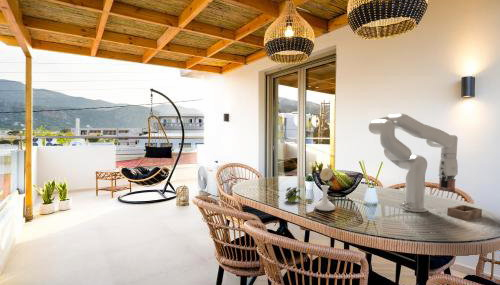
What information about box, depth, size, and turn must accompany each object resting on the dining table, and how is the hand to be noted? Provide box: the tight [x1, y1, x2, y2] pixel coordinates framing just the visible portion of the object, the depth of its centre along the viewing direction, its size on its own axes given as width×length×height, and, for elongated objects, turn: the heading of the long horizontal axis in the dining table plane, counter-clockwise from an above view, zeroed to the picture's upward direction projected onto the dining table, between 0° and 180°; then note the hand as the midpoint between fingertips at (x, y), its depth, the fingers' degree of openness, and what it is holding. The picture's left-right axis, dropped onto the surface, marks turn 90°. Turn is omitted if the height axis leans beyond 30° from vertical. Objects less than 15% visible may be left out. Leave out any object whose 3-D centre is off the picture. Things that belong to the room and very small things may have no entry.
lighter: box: [438, 174, 457, 193], centre depth 165 cm, size 8×3×10 cm, turn 42°
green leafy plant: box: [284, 186, 302, 204], centre depth 182 cm, size 11×11×12 cm
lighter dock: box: [446, 204, 483, 221], centre depth 150 cm, size 13×9×4 cm
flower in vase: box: [314, 167, 336, 212], centre depth 162 cm, size 13×11×25 cm
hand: (446, 186), depth 165 cm, fingers closed on lighter, 4 cm apart
